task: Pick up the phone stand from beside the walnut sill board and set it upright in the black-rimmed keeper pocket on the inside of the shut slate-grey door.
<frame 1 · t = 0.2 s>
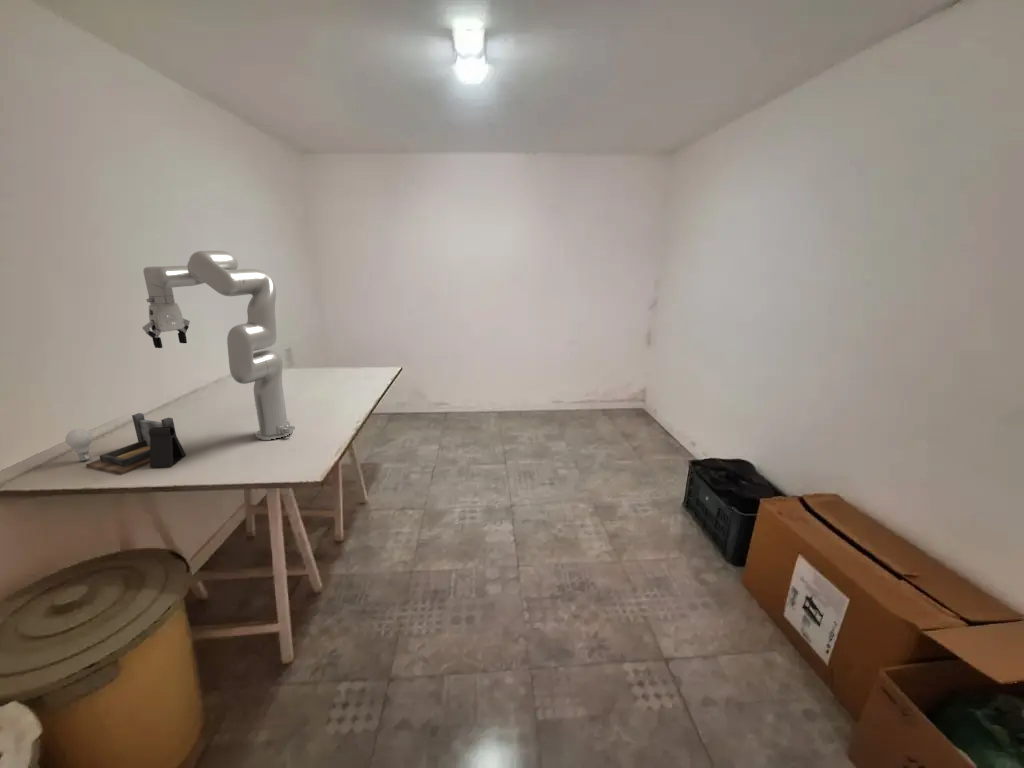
hand: (171, 345, 180), 31 cm above the table, tool pointing down, fingers open, 9 cm apart
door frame: (134, 459, 154), on the table
lightbulb: (85, 461, 153), on the table
phone stand: (168, 462, 152), on the table
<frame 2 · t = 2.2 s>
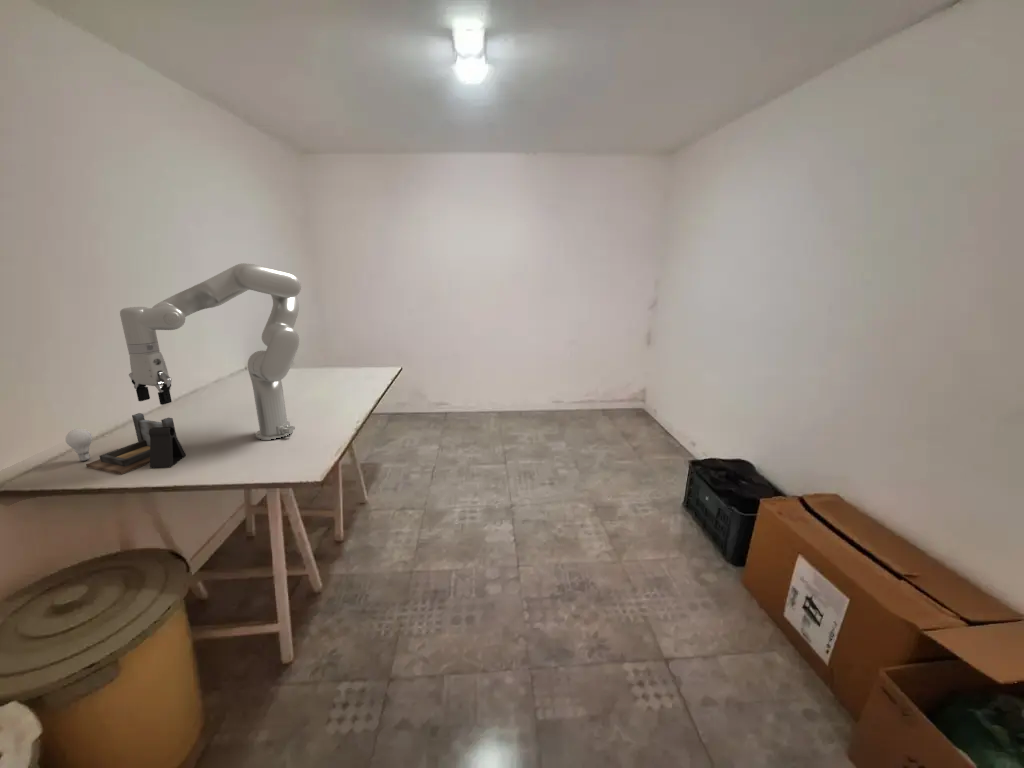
hand: (155, 401, 146), 21 cm above the table, tool pointing down, fingers open, 9 cm apart
nothing on the table moved.
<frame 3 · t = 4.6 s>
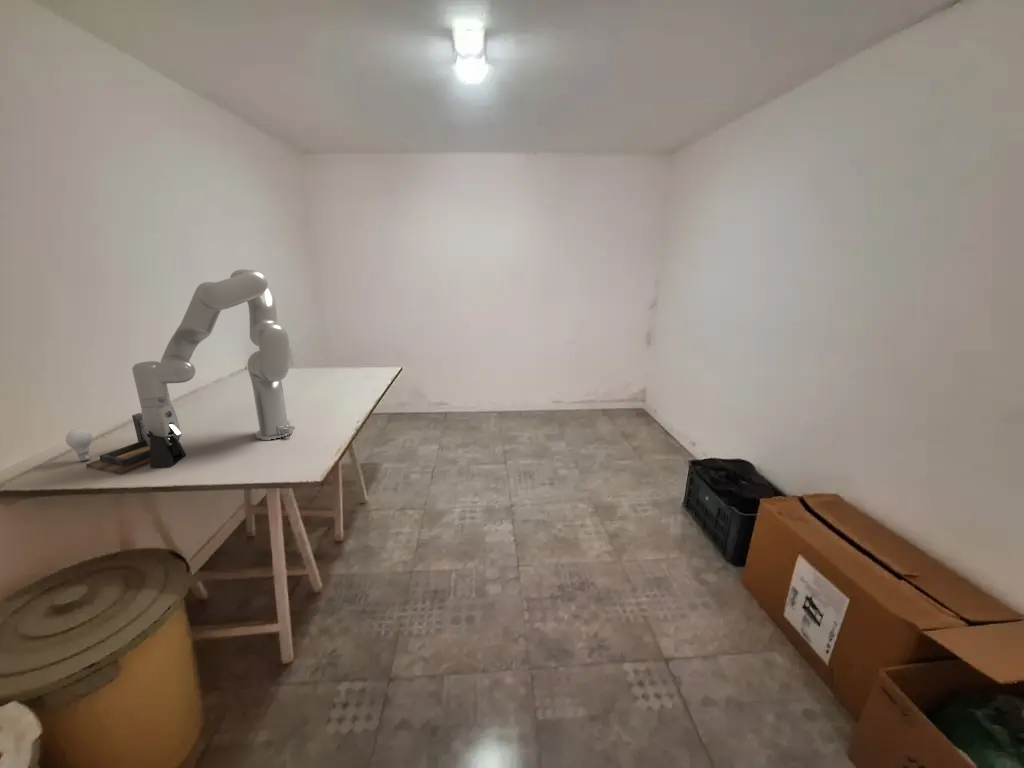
hand: (166, 453, 151), 3 cm above the table, tool pointing down, fingers closed on phone stand, 6 cm apart
phone stand: (168, 462, 152), on the table, touching gripper
everything else where it was.
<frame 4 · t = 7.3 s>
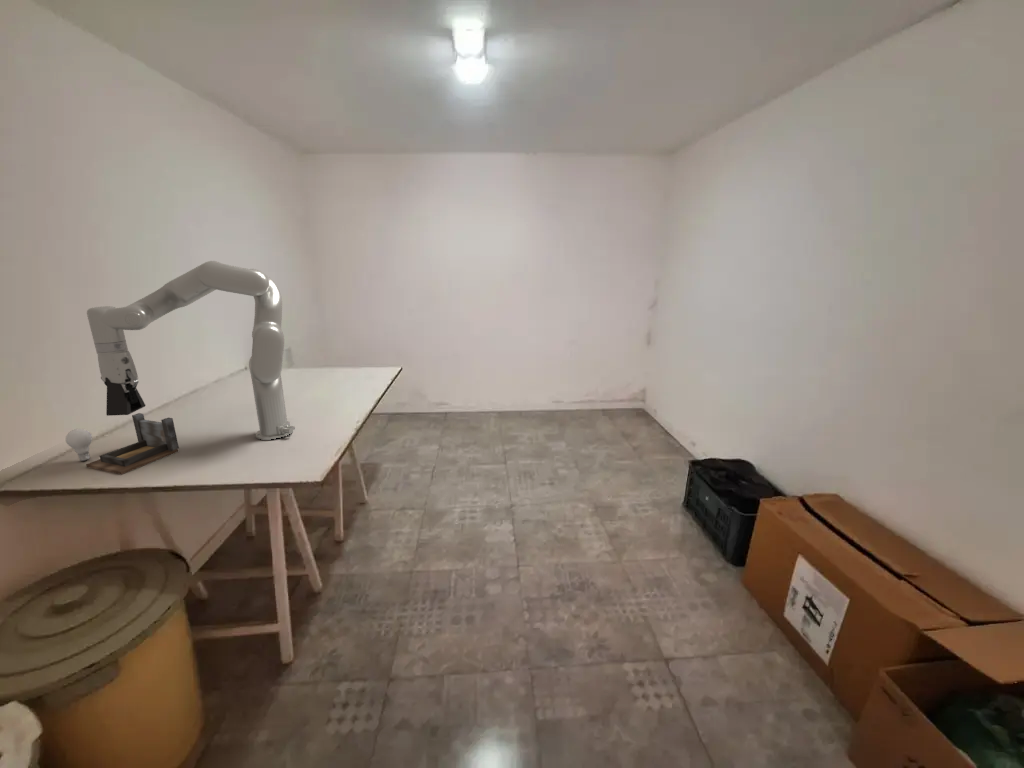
hand: (124, 401, 149), 20 cm above the table, tool pointing down, fingers closed on phone stand, 6 cm apart
phone stand: (126, 411, 150), point 16 cm above the table, touching gripper
everything else where it was.
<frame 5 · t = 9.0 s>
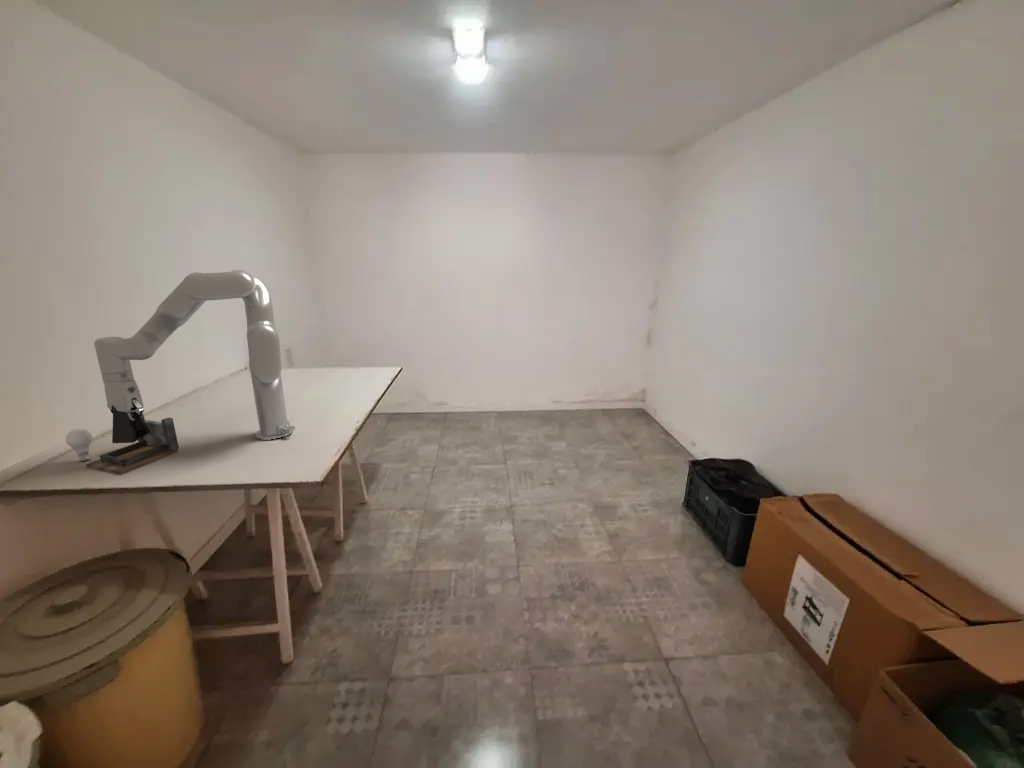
hand: (130, 429, 152), 10 cm above the table, tool pointing down, fingers closed on phone stand, 6 cm apart
phone stand: (132, 438, 153), point 7 cm above the table, touching gripper
everything else where it was.
when the fingers open (6 cm above the table, at t = 10.3 s): phone stand stays where it is, resting on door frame.
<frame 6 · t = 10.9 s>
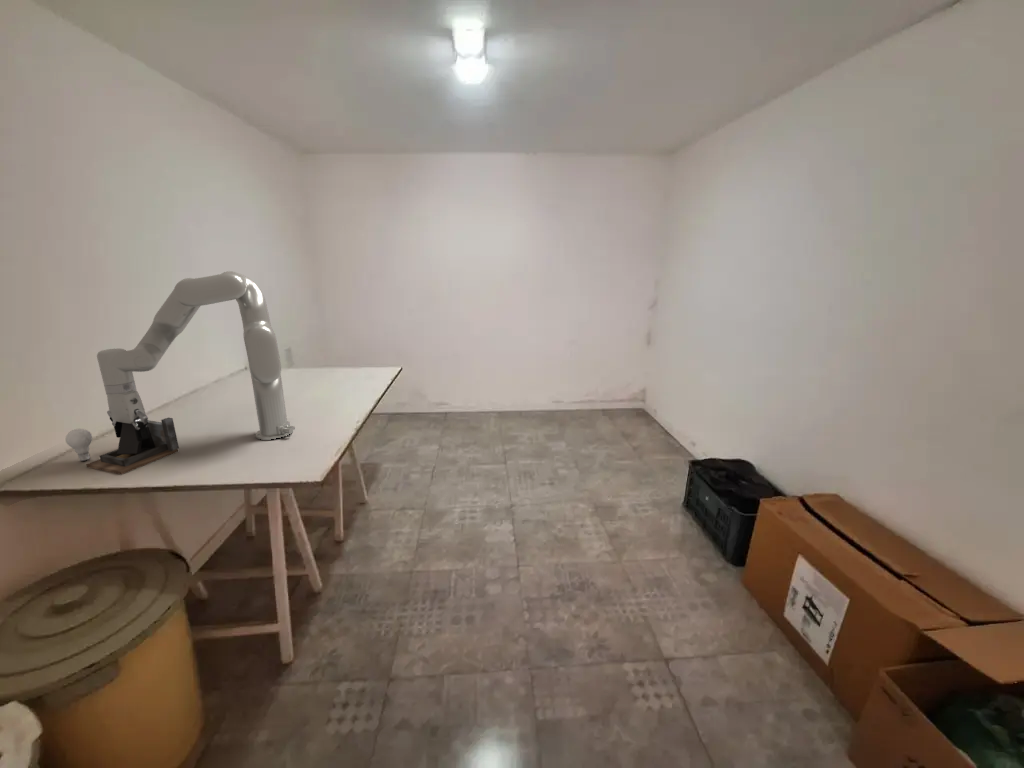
hand: (132, 437, 153), 7 cm above the table, tool pointing down, fingers open, 9 cm apart
phone stand: (137, 452, 154), point 2 cm above the table, touching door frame
everything else where it was.
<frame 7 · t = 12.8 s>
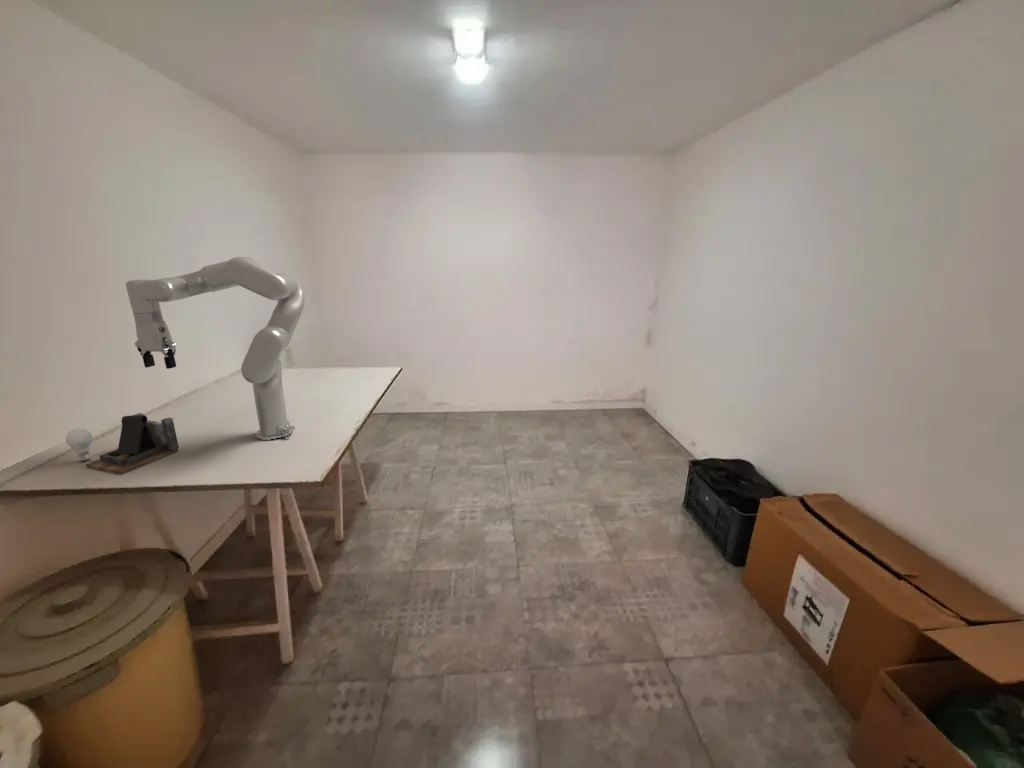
hand: (160, 367, 161), 28 cm above the table, tool pointing down, fingers open, 9 cm apart
nothing on the table moved.
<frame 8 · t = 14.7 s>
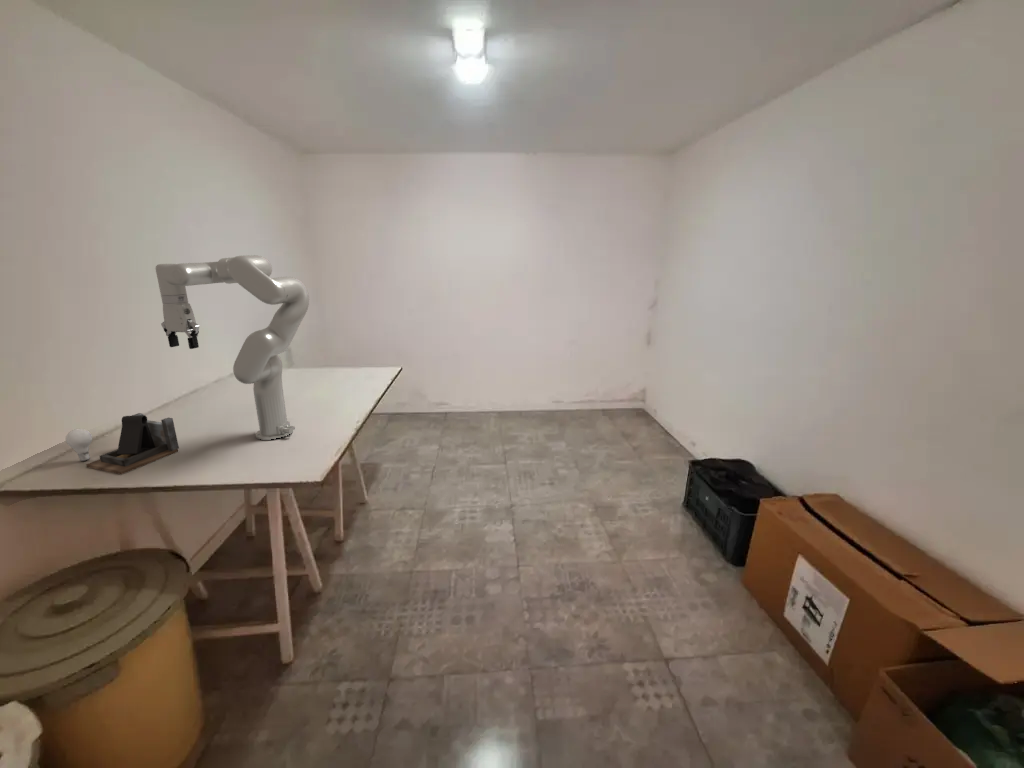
hand: (184, 347, 170), 32 cm above the table, tool pointing down, fingers open, 9 cm apart
nothing on the table moved.
at the end: phone stand inside the target area on the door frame (0.2 cm from its centre), point 2.0 cm above the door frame's base; phone stand tilted 12°; the gripper is holding nothing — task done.
